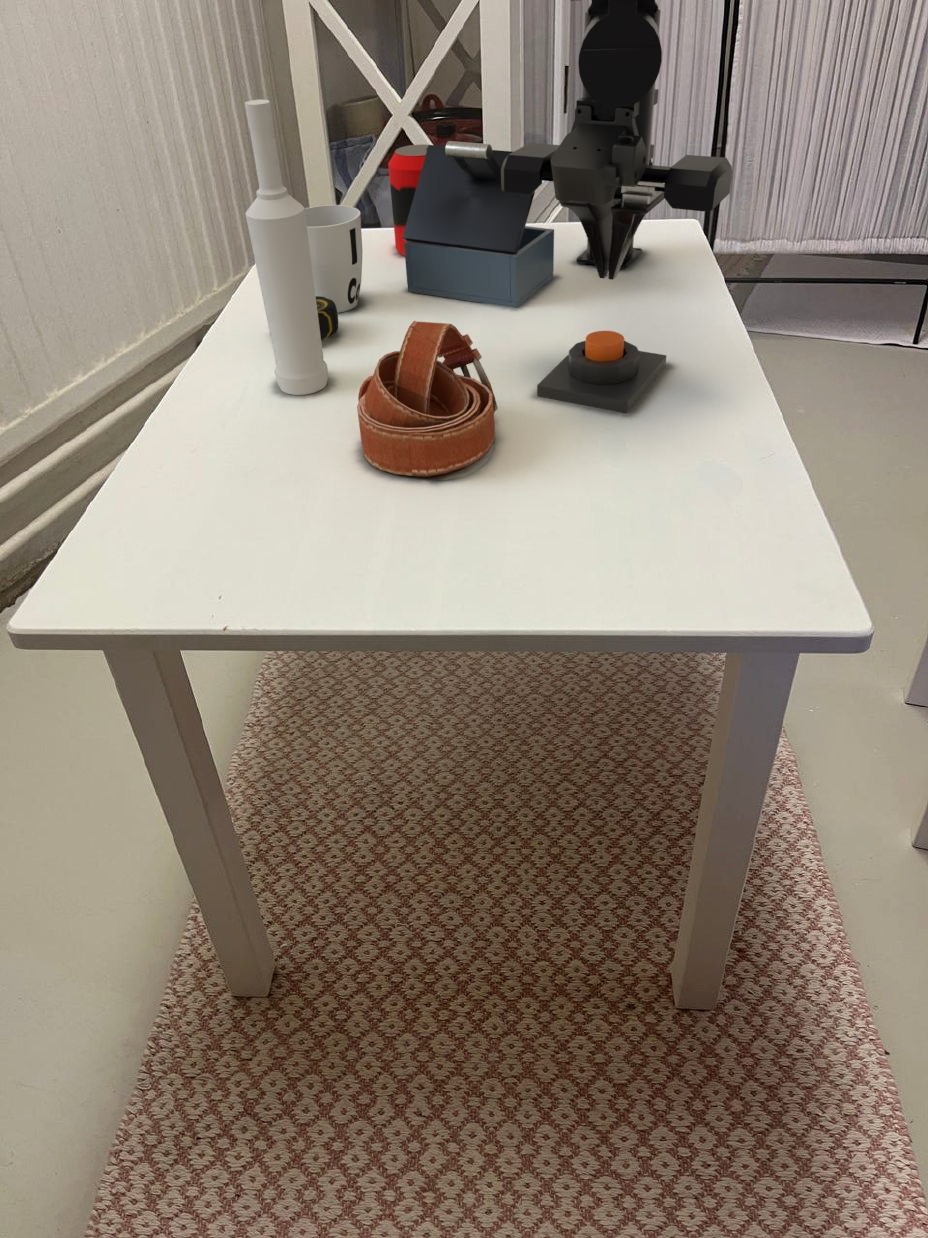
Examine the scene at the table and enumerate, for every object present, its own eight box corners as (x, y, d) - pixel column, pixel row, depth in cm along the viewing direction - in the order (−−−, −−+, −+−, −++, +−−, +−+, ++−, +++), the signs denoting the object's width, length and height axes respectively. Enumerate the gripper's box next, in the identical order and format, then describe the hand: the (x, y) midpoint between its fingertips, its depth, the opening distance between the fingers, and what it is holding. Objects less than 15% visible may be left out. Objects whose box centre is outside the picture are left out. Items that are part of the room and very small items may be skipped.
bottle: (320, 397, 90) (275, 108, 74) (269, 394, 91) (215, 108, 75) (336, 374, 94) (297, 95, 78) (287, 371, 95) (239, 95, 79)
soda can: (458, 254, 120) (454, 153, 112) (401, 261, 119) (392, 160, 111) (446, 237, 126) (440, 139, 118) (391, 243, 125) (382, 146, 117)
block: (581, 352, 95) (582, 323, 93) (665, 366, 92) (668, 337, 90) (536, 396, 88) (536, 367, 86) (626, 414, 84) (629, 383, 82)
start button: (593, 345, 90) (594, 327, 89) (628, 351, 89) (629, 333, 88) (579, 359, 88) (579, 342, 87) (615, 366, 86) (616, 348, 85)
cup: (366, 316, 105) (355, 225, 99) (295, 319, 105) (280, 228, 99) (373, 290, 111) (363, 203, 105) (306, 293, 112) (293, 206, 105)
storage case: (449, 263, 118) (446, 216, 114) (553, 277, 112) (554, 229, 108) (407, 291, 111) (403, 242, 107) (516, 308, 105) (516, 257, 102)
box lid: (430, 147, 107) (413, 124, 102) (545, 157, 101) (531, 132, 97) (404, 240, 107) (386, 221, 103) (517, 254, 102) (502, 235, 97)
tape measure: (329, 321, 105) (325, 288, 102) (348, 342, 100) (344, 308, 97) (270, 333, 103) (264, 299, 100) (287, 355, 98) (281, 321, 95)
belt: (530, 427, 83) (530, 318, 77) (450, 494, 75) (443, 378, 69) (406, 394, 89) (397, 291, 83) (320, 453, 81) (302, 343, 75)
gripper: (467, 94, 72) (475, 294, 82) (704, 107, 65) (680, 325, 74) (528, 68, 79) (528, 255, 89) (746, 78, 72) (720, 279, 82)
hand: (608, 277), depth 83 cm, fingers closed
